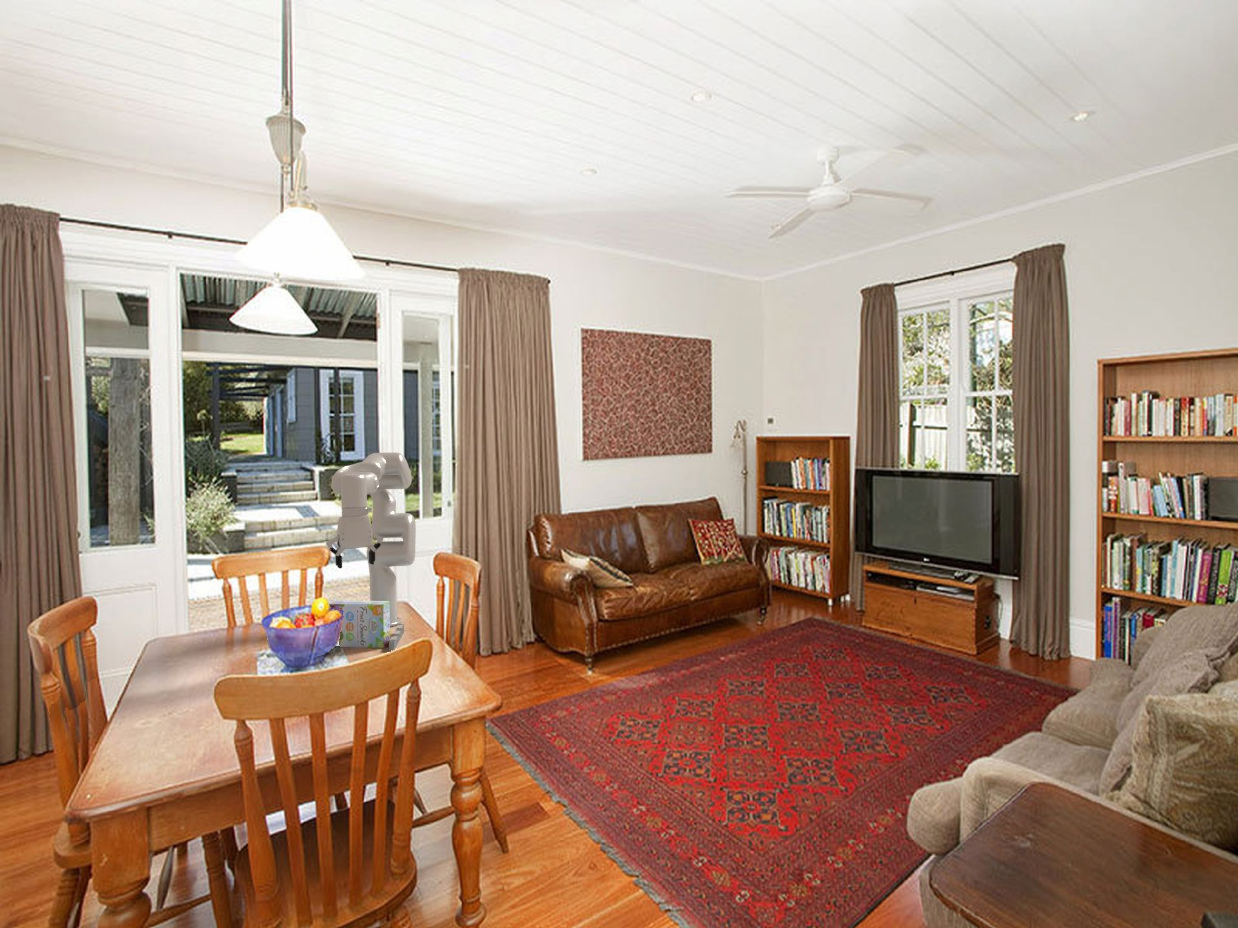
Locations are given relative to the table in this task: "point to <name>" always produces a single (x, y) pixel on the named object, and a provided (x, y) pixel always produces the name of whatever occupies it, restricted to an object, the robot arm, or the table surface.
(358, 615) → the snack box
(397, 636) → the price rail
